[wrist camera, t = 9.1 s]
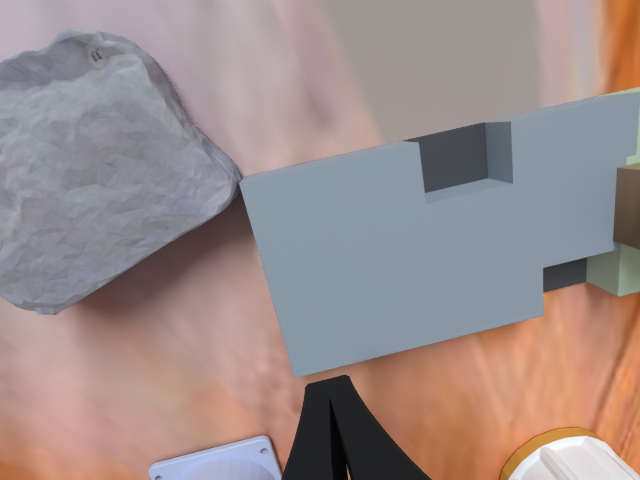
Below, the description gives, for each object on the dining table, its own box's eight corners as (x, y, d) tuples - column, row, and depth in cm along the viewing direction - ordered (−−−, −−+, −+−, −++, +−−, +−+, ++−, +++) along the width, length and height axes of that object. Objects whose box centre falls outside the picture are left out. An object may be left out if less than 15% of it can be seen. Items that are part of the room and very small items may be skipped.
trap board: (293, 351, 22) (296, 404, 18) (244, 176, 18) (233, 190, 14) (648, 263, 23) (733, 293, 18) (664, 81, 19) (774, 66, 15)
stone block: (-35, 156, 18) (80, 311, 20) (-156, 140, 14) (6, 346, 15) (152, 31, 18) (259, 196, 19) (95, -31, 13) (243, 194, 14)
